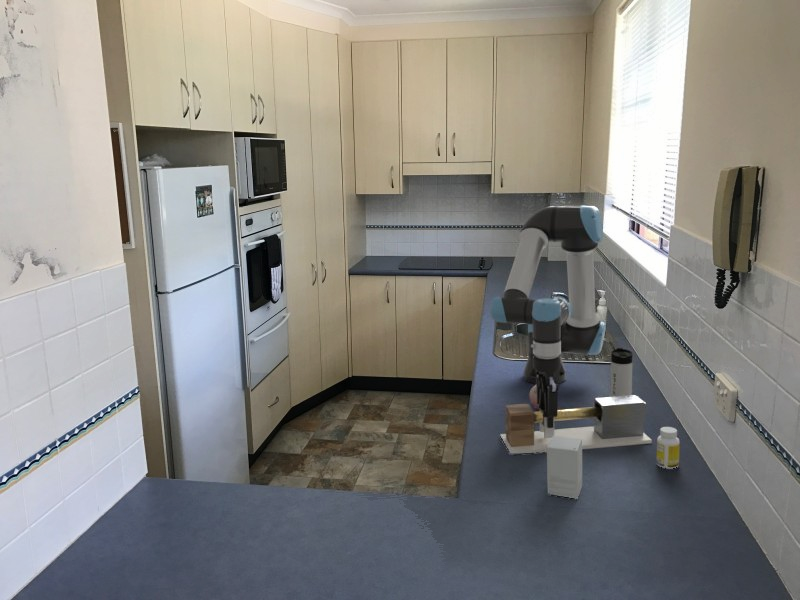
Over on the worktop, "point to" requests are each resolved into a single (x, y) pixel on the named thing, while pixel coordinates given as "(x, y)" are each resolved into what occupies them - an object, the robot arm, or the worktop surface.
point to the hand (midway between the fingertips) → (546, 434)
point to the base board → (585, 433)
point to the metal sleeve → (620, 417)
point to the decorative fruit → (534, 396)
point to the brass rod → (569, 414)
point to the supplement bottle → (668, 448)
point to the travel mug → (621, 372)
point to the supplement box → (564, 466)
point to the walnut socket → (519, 425)
